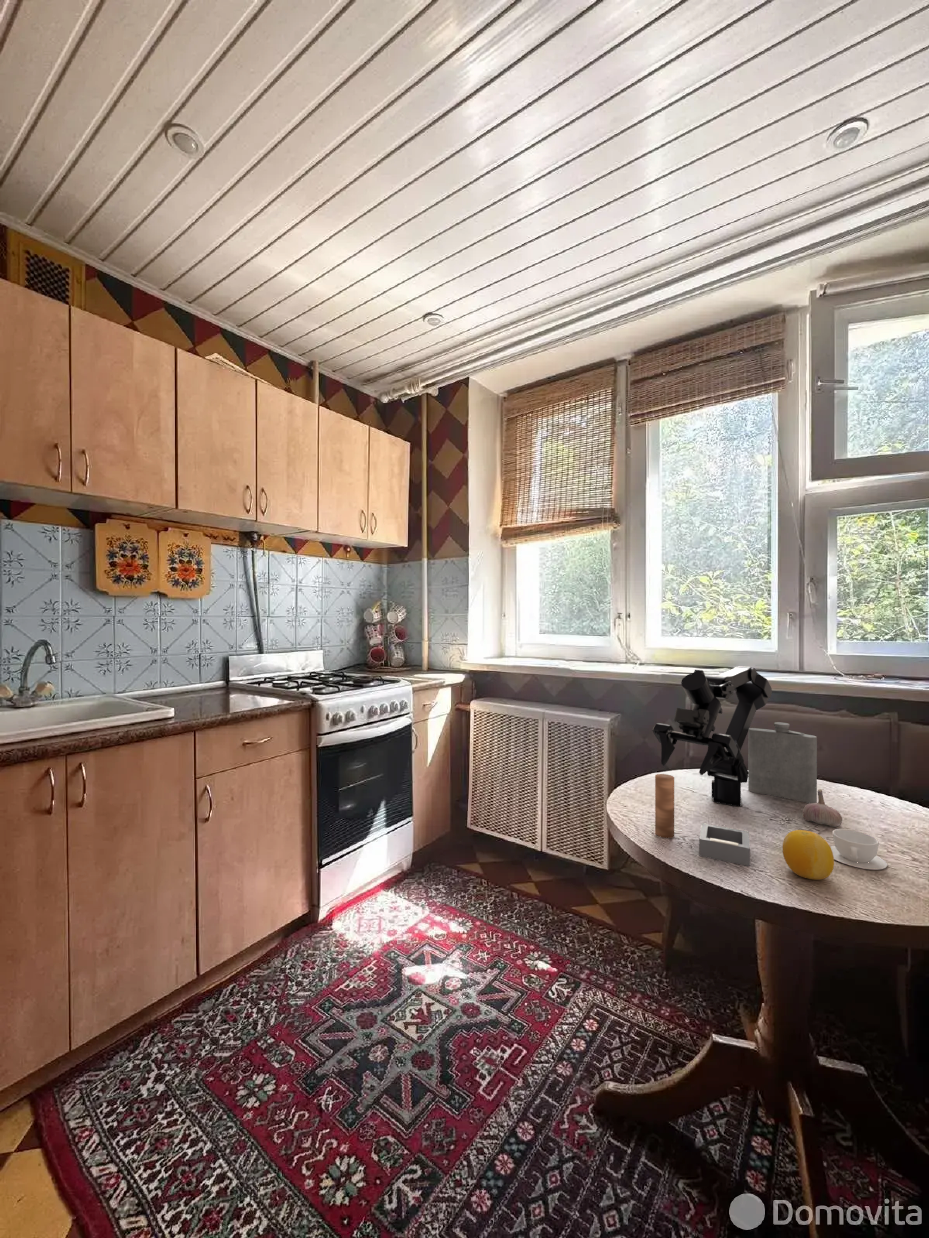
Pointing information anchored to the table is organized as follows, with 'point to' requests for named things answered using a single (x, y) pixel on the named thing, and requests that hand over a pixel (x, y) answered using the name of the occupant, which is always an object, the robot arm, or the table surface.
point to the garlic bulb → (821, 812)
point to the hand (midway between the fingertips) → (680, 769)
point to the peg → (664, 805)
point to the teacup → (856, 849)
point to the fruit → (808, 854)
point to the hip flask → (782, 763)
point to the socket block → (724, 844)
